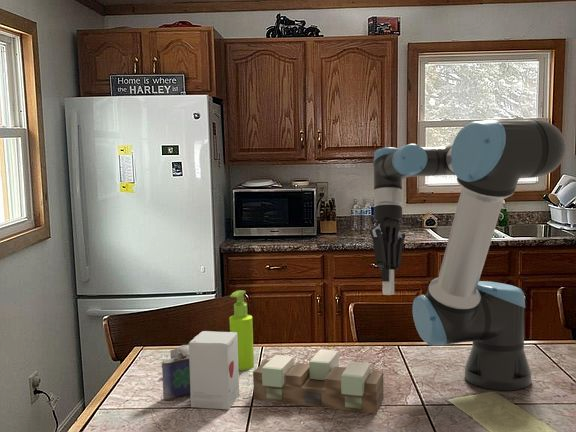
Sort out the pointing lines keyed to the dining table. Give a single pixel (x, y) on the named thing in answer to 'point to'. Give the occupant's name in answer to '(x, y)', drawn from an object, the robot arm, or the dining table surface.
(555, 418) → the dining table surface
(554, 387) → the dining table surface
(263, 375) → the button
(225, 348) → the supplement box
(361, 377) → the button
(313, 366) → the button middle
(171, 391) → the flask
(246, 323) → the soap dispenser
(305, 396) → the brown wooden slotted rack
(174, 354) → the bunny figurine
